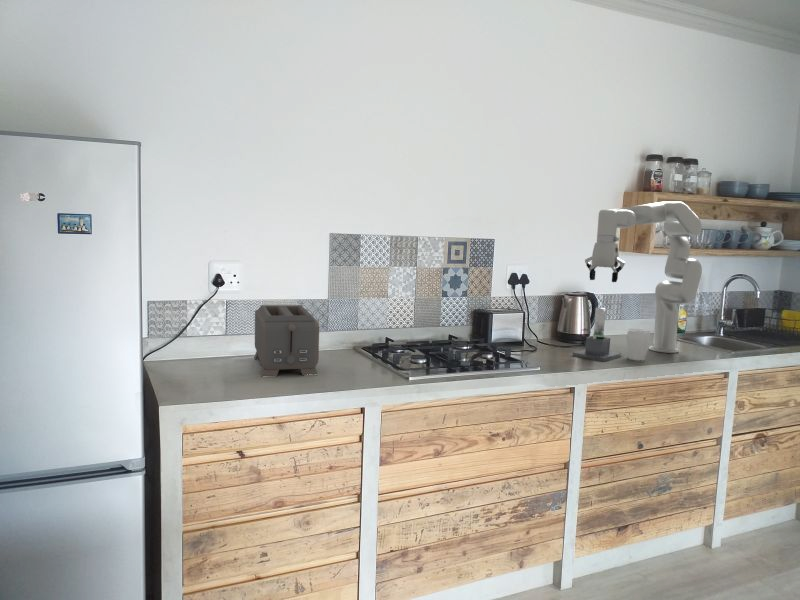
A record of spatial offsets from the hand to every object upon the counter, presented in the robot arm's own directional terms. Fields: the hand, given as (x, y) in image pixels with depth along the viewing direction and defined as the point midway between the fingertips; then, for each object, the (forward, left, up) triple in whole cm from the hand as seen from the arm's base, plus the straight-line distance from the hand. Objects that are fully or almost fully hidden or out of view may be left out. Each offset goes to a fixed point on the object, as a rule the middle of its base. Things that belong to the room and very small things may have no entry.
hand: (603, 280), depth 271 cm
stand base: (0, 0, -32) cm, 32 cm away
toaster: (+116, -62, -32) cm, 135 cm away
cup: (-9, +13, -32) cm, 36 cm away
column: (0, 0, -25) cm, 25 cm away
